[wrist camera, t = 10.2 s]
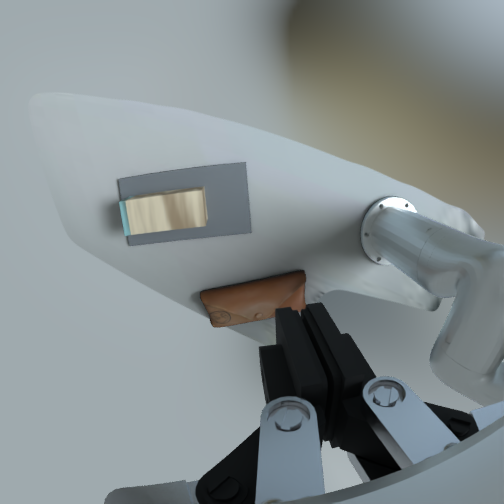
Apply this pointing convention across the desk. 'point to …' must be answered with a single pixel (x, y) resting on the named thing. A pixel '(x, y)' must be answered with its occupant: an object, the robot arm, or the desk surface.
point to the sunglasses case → (254, 299)
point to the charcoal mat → (216, 193)
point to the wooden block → (164, 211)
